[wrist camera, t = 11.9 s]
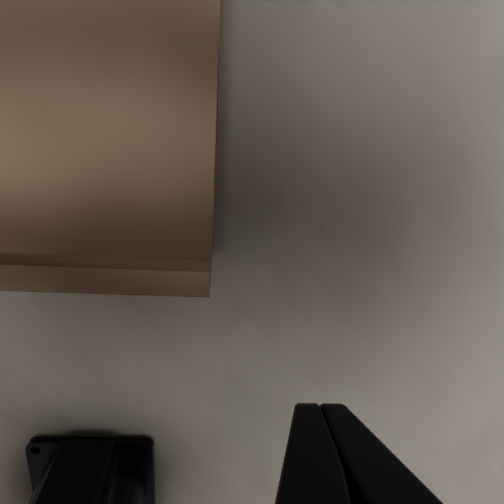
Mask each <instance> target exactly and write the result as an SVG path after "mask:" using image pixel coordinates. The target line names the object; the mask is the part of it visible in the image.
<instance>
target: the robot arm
mask: <svg viewBox="0 0 504 504" xmlns="http://www.w3.org/2000/svg"><path fill="white" fill-rule="evenodd" d="M37 447H38V448H37ZM142 447H146V448H142ZM26 455H27V461H28V466H29V472H30V477H31V483H32V488H33V494H32V496H31V499H30V501H29V503H28V504H155V467H154V443H153V441H152V440H151V439H149V438H144V437H35V438H32V439H31V440H30V441H29V443H28V445H27V446H26ZM275 504H443V503H442V502H441V501H440V500H439V499H438V498H437V497H436V496H435V495H434V494H433V493H432V492H431V491H430V490H429V489H428V488H427V487H426V486H425V485H424V484H423V483H422V482H421V481H420V480H419V479H418V478H417V477H416V476H415V475H414V474H413V473H412V472H411V471H410V470H409V469H408V468H407V467H406V466H405V465H404V464H403V463H402V462H401V461H400V460H399V459H398V458H397V457H396V456H395V455H394V454H393V453H392V452H391V451H390V450H389V449H388V448H387V447H386V446H385V445H384V444H383V443H382V442H381V441H380V440H379V439H378V438H377V437H376V436H375V435H374V434H373V433H372V432H371V431H370V430H369V429H368V428H367V427H366V426H365V425H364V424H363V423H362V422H361V421H360V420H359V419H358V418H357V417H356V416H355V415H354V414H353V413H352V412H351V411H350V410H349V409H348V408H347V407H346V406H345V405H343V404H330V403H324V404H321V405H320V406H319V405H318V404H316V403H298V404H296V405H295V408H294V413H293V418H292V423H291V428H290V433H289V437H288V442H287V447H286V452H285V457H284V462H283V467H282V472H281V476H280V481H279V486H278V491H277V496H276V501H275Z"/></svg>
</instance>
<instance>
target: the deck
mask: <svg viewBox="0 0 504 504" xmlns="http://www.w3.org/2000/svg"><path fill="white" fill-rule="evenodd" d="M220 25H221V0H0V291H25V292H57V293H89V294H121V295H153V296H185V297H209V296H210V280H211V264H212V243H213V216H214V189H215V162H216V134H217V107H218V80H219V53H220Z"/></svg>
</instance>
